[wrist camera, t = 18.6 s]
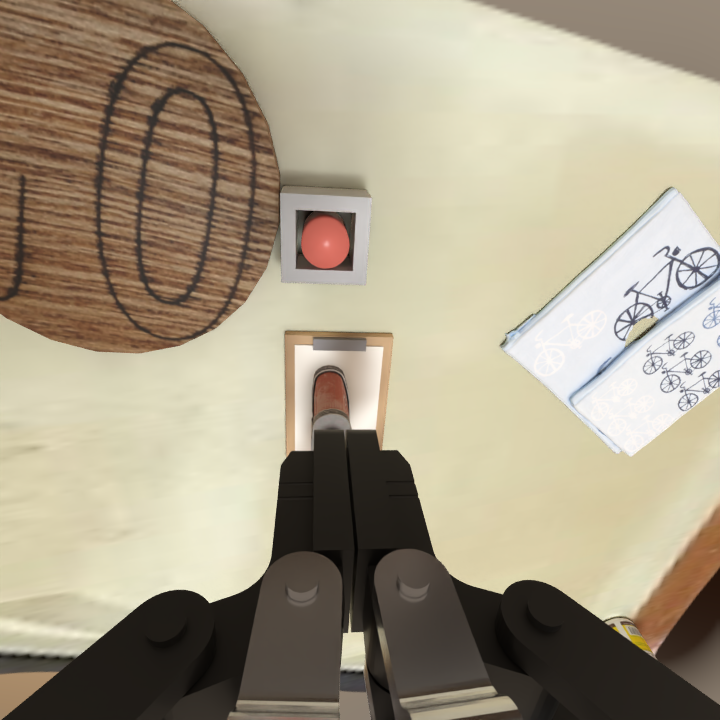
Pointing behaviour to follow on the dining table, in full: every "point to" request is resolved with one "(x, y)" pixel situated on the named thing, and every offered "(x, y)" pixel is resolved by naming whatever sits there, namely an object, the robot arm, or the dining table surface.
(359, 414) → the clipboard
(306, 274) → the button box
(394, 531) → the robot arm
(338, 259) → the button
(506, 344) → the folded patterned cloth
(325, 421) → the lighter
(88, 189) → the trivet
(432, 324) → the dining table surface
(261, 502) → the dining table surface
